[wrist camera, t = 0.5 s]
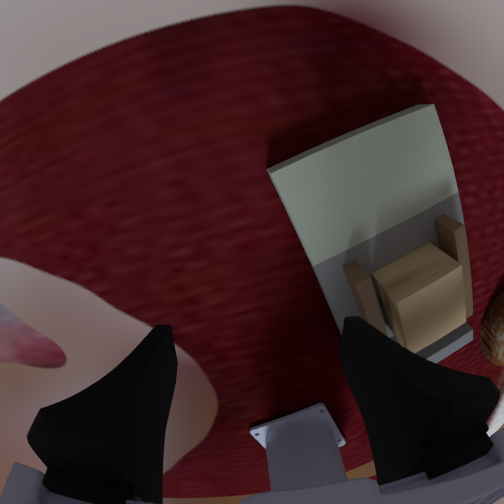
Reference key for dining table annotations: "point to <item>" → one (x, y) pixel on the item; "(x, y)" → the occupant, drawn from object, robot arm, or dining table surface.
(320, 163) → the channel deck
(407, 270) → the wooden block
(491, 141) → the dining table surface
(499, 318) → the bread roll
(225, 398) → the dining table surface
